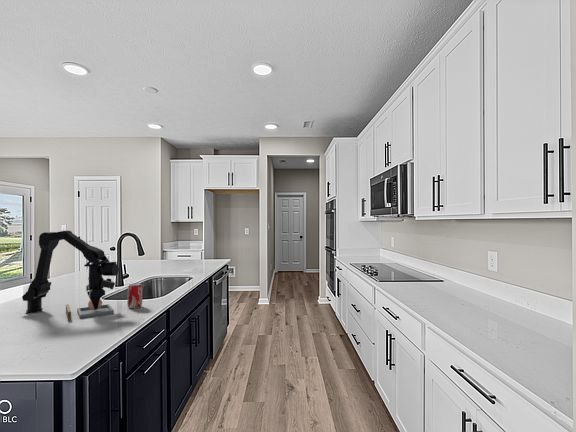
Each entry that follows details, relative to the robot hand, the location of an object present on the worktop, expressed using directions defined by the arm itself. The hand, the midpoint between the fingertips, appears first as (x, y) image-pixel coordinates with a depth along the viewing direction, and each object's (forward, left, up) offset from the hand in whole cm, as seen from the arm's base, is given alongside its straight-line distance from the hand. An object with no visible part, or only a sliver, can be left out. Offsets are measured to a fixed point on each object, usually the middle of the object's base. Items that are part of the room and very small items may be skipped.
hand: (95, 307), depth 165 cm
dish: (0, 0, -3) cm, 3 cm away
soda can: (0, +18, -3) cm, 18 cm away
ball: (0, 0, +2) cm, 2 cm away
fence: (0, -11, -3) cm, 11 cm away
